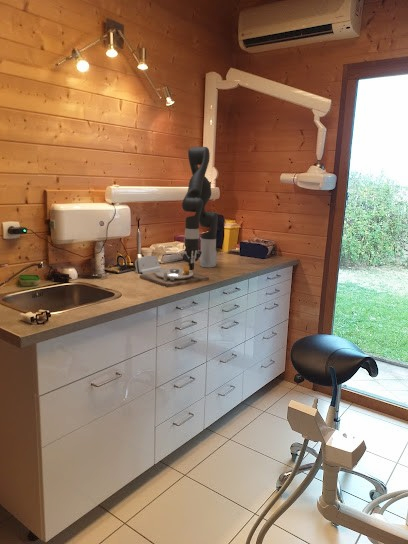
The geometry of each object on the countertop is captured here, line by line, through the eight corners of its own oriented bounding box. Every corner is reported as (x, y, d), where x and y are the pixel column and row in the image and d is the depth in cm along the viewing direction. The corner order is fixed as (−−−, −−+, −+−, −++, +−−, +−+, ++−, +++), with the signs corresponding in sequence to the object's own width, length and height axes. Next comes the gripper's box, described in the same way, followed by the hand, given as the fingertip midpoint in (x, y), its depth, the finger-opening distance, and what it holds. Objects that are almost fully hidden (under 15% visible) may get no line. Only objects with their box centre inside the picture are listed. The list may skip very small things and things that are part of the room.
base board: (180, 271, 243) (180, 261, 241) (209, 279, 225) (209, 268, 224) (139, 277, 224) (139, 266, 223) (167, 287, 207) (167, 275, 206)
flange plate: (196, 272, 232) (197, 260, 231) (187, 281, 210) (187, 268, 209) (161, 269, 236) (162, 258, 234) (149, 278, 214) (149, 265, 213)
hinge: (142, 274, 232) (138, 256, 232) (136, 276, 235) (132, 258, 235) (163, 270, 245) (158, 253, 245) (157, 271, 248) (153, 255, 248)
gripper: (196, 235, 224) (195, 266, 228) (177, 237, 215) (176, 270, 219) (206, 236, 219) (205, 269, 223) (187, 239, 210) (186, 273, 214)
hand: (191, 269), depth 221 cm, fingers closed
